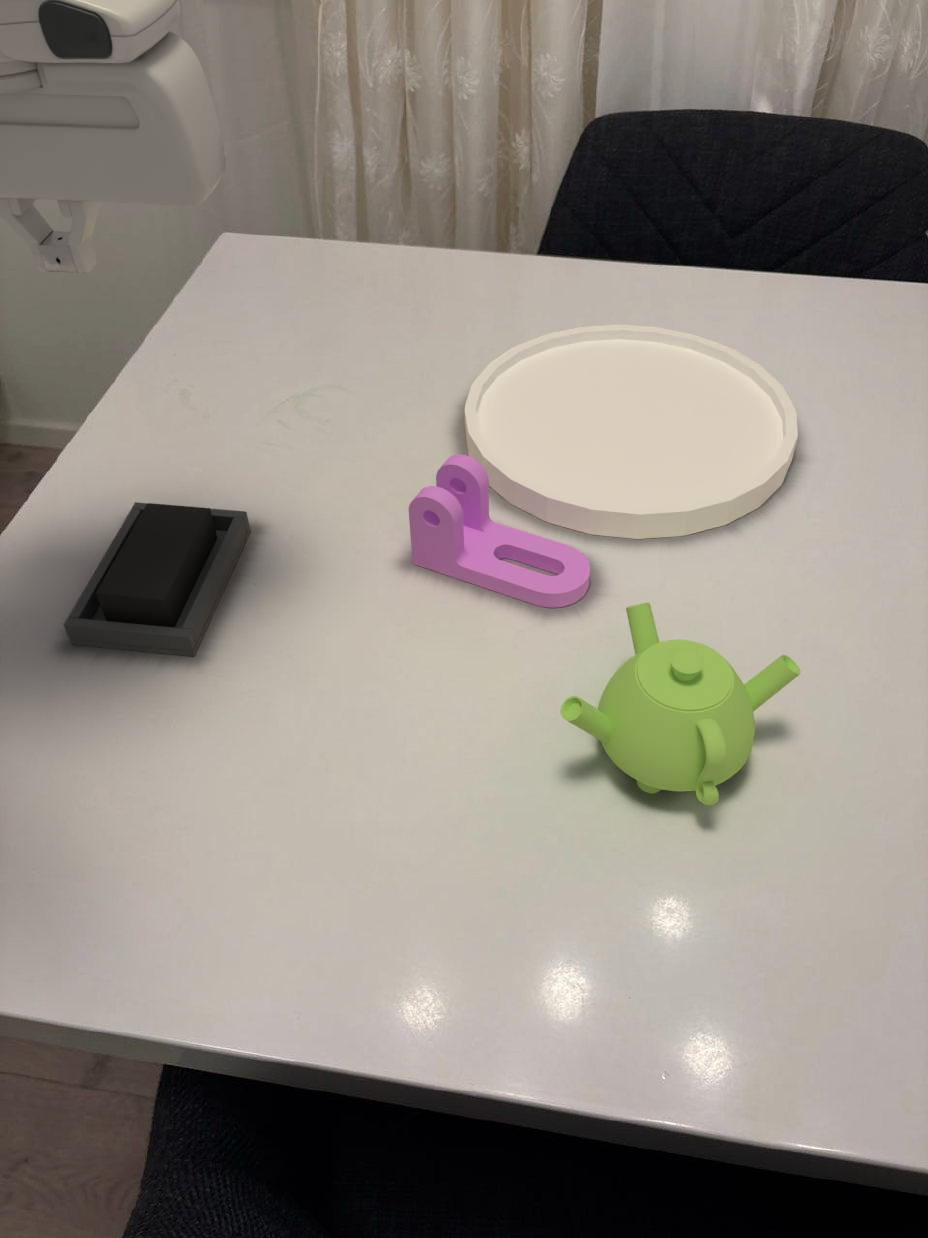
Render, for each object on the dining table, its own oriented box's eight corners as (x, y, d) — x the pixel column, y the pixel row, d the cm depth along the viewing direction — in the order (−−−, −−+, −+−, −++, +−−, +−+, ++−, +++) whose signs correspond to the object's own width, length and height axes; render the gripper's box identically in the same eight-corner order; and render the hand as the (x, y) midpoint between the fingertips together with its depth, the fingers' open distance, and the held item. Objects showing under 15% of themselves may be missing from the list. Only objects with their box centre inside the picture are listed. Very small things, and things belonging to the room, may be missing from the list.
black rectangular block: (173, 629, 74) (164, 599, 72) (106, 623, 75) (95, 593, 72) (217, 537, 81) (210, 507, 79) (156, 532, 81) (147, 502, 79)
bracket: (412, 563, 79) (407, 491, 74) (446, 520, 83) (443, 448, 78) (571, 616, 75) (576, 543, 70) (600, 569, 78) (607, 496, 73)
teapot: (718, 856, 61) (743, 768, 55) (545, 773, 65) (550, 683, 59) (785, 727, 67) (814, 636, 61) (624, 659, 72) (636, 568, 66)
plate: (863, 472, 86) (871, 447, 84) (572, 583, 77) (574, 558, 75) (666, 320, 104) (669, 297, 102) (411, 397, 95) (409, 373, 93)
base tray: (194, 657, 73) (188, 637, 71) (71, 644, 74) (62, 624, 72) (251, 530, 82) (246, 511, 81) (141, 521, 83) (134, 501, 82)
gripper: (-251, 12, 49) (-127, 284, 59) (161, 22, 47) (219, 304, 57) (-174, -25, 54) (-71, 234, 64) (206, -17, 51) (253, 251, 61)
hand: (69, 268), depth 60 cm, fingers closed
